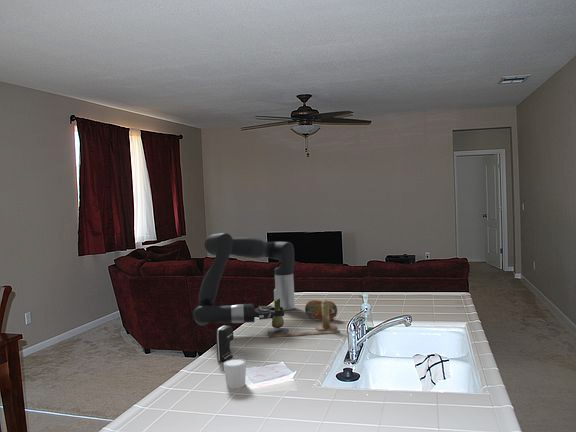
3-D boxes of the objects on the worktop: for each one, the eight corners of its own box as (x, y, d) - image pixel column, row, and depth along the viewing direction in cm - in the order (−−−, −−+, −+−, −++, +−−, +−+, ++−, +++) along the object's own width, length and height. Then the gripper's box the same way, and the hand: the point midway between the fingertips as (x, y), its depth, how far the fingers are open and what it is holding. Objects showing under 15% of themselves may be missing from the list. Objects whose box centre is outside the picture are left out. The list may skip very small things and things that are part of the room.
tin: (305, 318, 234) (304, 300, 233) (308, 316, 237) (307, 298, 236) (335, 321, 227) (335, 302, 226) (338, 319, 230) (337, 300, 229)
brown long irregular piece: (268, 337, 205) (267, 308, 204) (267, 329, 217) (265, 301, 217) (340, 333, 207) (339, 303, 207) (334, 325, 220) (333, 297, 219)
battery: (226, 362, 177) (224, 330, 176) (216, 361, 178) (215, 329, 178) (235, 356, 183) (234, 324, 183) (226, 355, 185) (224, 324, 184)
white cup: (238, 390, 151) (236, 367, 151) (219, 387, 155) (218, 364, 154) (251, 383, 157) (250, 360, 157) (234, 379, 161) (232, 357, 160)
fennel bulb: (278, 324, 217) (277, 296, 216) (287, 326, 214) (286, 298, 213) (268, 328, 212) (268, 299, 211) (277, 330, 209) (277, 301, 208)
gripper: (242, 308, 204) (284, 306, 206) (242, 300, 219) (281, 298, 220) (243, 327, 205) (285, 324, 206) (243, 318, 219) (282, 316, 220)
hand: (283, 311), depth 213 cm, fingers closed on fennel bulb, 6 cm apart
